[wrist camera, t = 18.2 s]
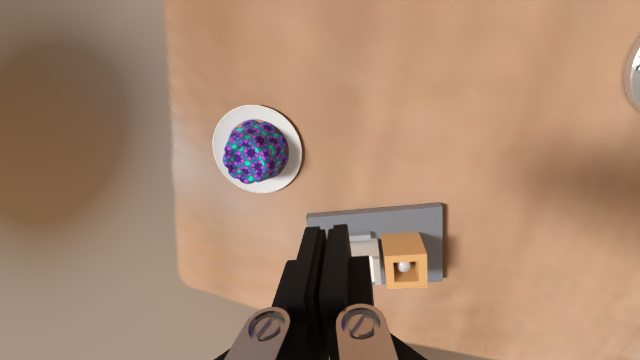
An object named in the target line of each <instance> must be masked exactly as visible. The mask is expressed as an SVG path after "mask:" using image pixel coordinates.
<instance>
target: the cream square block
mask: <svg viewBox="0 0 640 360" xmlns="http://www.w3.org/2000/svg"><path fill="white" fill-rule="evenodd" d="M350 247H351V254H352V256H367V255H369V260H370V269H371V278H372V282H375V285H381V282H382V278H381V267H380V256H379V249H378V241H377V238H374V239H371V240H362V241H350Z"/></svg>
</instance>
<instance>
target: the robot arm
mask: <svg viewBox="0 0 640 360" xmlns="http://www.w3.org/2000/svg"><path fill="white" fill-rule="evenodd" d="M624 87H625V93H626V95H627V98H628V100H629V102H630V103H631V105H632V106H633V107H634V108H635V109H636V110H637V111H638V112H640V37H639V39H638V40H637V42H636V44H635V45H634V47H633V49H632V51H631V53H630V55H629V58H628V60H627V64H626V68H625V72H624ZM329 356H330V360H427V359H425V358H424V357H423V356H421V355H420V354H419V353H417V352H416V351H414V350H413V349H412V348H410V347H409V346H408V345H406V344H405V343H403V342H402V341H401V340H399V339H398V338H397V337H395V336H394V335H392V334H391V333H390V332H389V329H388V326H387V322H386V319H385V317H384V315H383V313H382V312H381V311H380V310H379V309H377V308H376V307H374V300H373V289H372V278H371V269H370V260H369V255H367V256H352V254H351V247H350V239H349V232H348V225H347V224H339V225H333V229H329V230H328V236H327V237H326V231H325V229H320V226H314V227H306V228H305V231H304V235H303V238H302V242H301V245H300V249H299V252H298V256H297V259H296V260H288V261H287V263H286V265H285V268H284V271H283V274H282V277H281V280H280V283H279V286H278V289H277V292H276V295H275V298H274V301H273V304H272V307H268V308H265V309H262V310H260V311H258V312H256V313H255V314H253V315H252V316H251V317H250V318H249V319H248V320H247V322H246V323H245V325H244V327H243V328H242V330H241V332H240V333H239V335H238V337H237V338H236V340H235V342H234V344H233V345H232V347H231V348H230V349H229V350H227V351H226V352H224V353H223V354H222V355H220V356H219V357H217V358H216V359H214V360H329Z"/></svg>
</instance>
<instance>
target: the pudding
mask: <svg viewBox="0 0 640 360" xmlns="http://www.w3.org/2000/svg"><path fill="white" fill-rule="evenodd" d="M250 119H260V120H264V121H267V122H262V123H260V124H259V123H258V122H256V121H255V120H250ZM246 120H247V121H246ZM243 121H245V122H244V123H243V125H242V127H240V128H235V127H236V126H237V125H238V124H239V123H241V122H243ZM268 122H269V123H268ZM272 124H273V125H274V126H276V127H277V128H278V129H279V130H280V131H281V132H282V134H283V135H284V137H285V138H284V137H283V135H281V134H279V133H277V132H276V129H275V127H274V126H273V125H272ZM234 128H235V129H234ZM233 129H234V130H233ZM232 130H233V131H232ZM231 131H232V132H231ZM230 133H231V135H230ZM229 135H230V137H229ZM228 138H229V139H228ZM286 141H287V143H286ZM287 144H288V148H289V157H288V155H287V153H286V151H285V148H286V146H287ZM213 153H214V157H215V160H216V162H217V164H218V167H219V168H220V170H221V171H222V173H223V174H224V175H225V176H226V177H227V178H228V179H229V180H230V181H231V182H232V183H233V184H235V185H237V186H238V187H240V188H242V189H244V190H247V191H250V192H254V193H270V192H274V191H277V190H279V189H282V188H283V187H285V186H286V185H288V184H289V183H290V182H291V181H292V180H293V179H294V177H295V176H296V174H297V173H298V171H299V168H300V165H301V160H302V147H301V142H300V139H299V136H298V134H297V132H296V130H295V129H294V127H293V126H292V125H291V123H290V122H289V121H288V120H287V119H286V118H285V117H284V116H283V115H281V114H280V113H278V112H277V111H275V110H273V109H270V108H268V107H264V106H260V105H245V106H241V107H238V108H235V109H233V110H231V111H230V112H228V113H227V114H226V115H225V116H224V117H223V118H222V119H221V120H220V122H219V123H218V125H217V127H216V129H215V132H214V136H213ZM287 160H288V162H287ZM286 162H287V164H286ZM285 164H286V166H285V168H284V169H283V171H282V172H281V173H280V174H278V173H279V171H280V167H281V166H283V165H285ZM277 174H278V175H277ZM276 175H277V176H276ZM274 176H275V177H274ZM271 177H273V178H271ZM269 178H270V179H269Z"/></svg>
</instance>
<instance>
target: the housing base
mask: <svg viewBox="0 0 640 360" xmlns="http://www.w3.org/2000/svg"><path fill="white" fill-rule="evenodd" d="M306 220H307V225H308V227H314V226H320V229H325V231H326V237H327V236H328V230H329V229H333V225H339V224H347V225H348V232H349V239H350V241H362V240H371V239H374V238H377V241H378V249H379V256H380V267H381V278H382V282H381V284H386V279H385V272H384V265H383V254H382V242H381V234H391V233H405V232H419V234H420V237H421V239H422V242H423V245H424V247H425V250H426V253H427V279H428V282H440V281H443V215H442V205H441V203H428V204H417V205H405V206H393V207H382V208H370V209H358V210H346V211H335V212H323V213H311V214H307V217H306ZM397 267H398V270H399V271H401V272H408V271H409V270H410V268H411V266H410V262H397ZM372 285H375V282H372Z"/></svg>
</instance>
